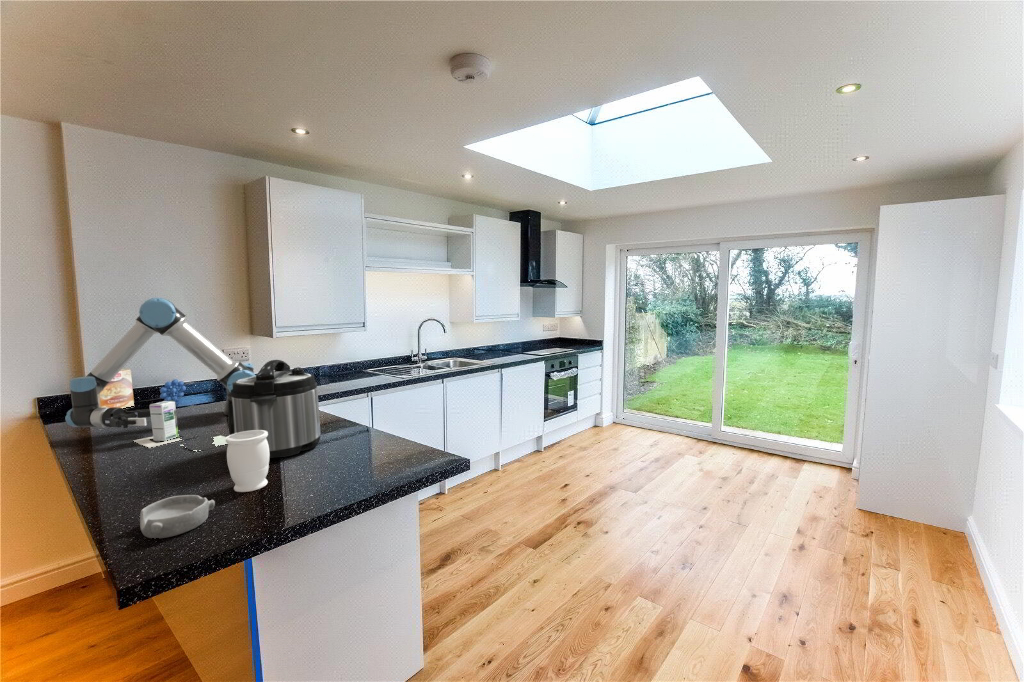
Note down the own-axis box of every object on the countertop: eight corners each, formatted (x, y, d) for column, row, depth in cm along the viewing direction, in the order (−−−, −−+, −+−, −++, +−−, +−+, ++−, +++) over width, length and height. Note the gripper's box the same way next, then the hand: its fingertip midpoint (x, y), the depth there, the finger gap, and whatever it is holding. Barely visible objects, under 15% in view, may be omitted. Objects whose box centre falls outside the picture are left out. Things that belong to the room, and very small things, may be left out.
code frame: (181, 431, 191) (181, 430, 191) (198, 437, 182) (198, 435, 182) (133, 441, 178) (132, 440, 178) (149, 448, 169) (148, 447, 169)
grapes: (185, 398, 257) (183, 377, 256) (187, 400, 252) (185, 378, 251) (159, 402, 249) (157, 380, 248) (161, 404, 244) (159, 381, 243)
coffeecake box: (101, 413, 226) (97, 374, 224) (92, 413, 228) (87, 373, 226) (135, 406, 240) (131, 369, 238) (125, 406, 242) (122, 368, 240)
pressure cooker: (284, 433, 184) (278, 354, 181) (340, 440, 173) (335, 355, 170) (210, 459, 156) (202, 365, 153) (272, 468, 146) (265, 368, 143)
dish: (160, 546, 100) (158, 524, 100) (124, 534, 106) (122, 513, 106) (226, 517, 113) (224, 497, 113) (190, 507, 119) (189, 488, 119)
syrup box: (165, 441, 177) (162, 404, 175) (152, 441, 178) (149, 403, 176) (179, 437, 182) (175, 400, 181) (166, 436, 183) (163, 400, 182)
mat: (220, 436, 182) (220, 435, 182) (238, 441, 174) (238, 440, 174) (179, 446, 171) (179, 445, 171) (196, 452, 163) (196, 451, 163)
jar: (241, 480, 136) (237, 430, 135) (277, 478, 137) (274, 428, 136) (221, 495, 126) (217, 441, 124) (261, 493, 127) (257, 439, 125)
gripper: (139, 418, 193) (186, 418, 192) (78, 436, 169) (132, 436, 167) (137, 400, 193) (185, 400, 191) (76, 415, 168) (130, 415, 166)
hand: (160, 417), depth 179 cm, fingers open, 13 cm apart
